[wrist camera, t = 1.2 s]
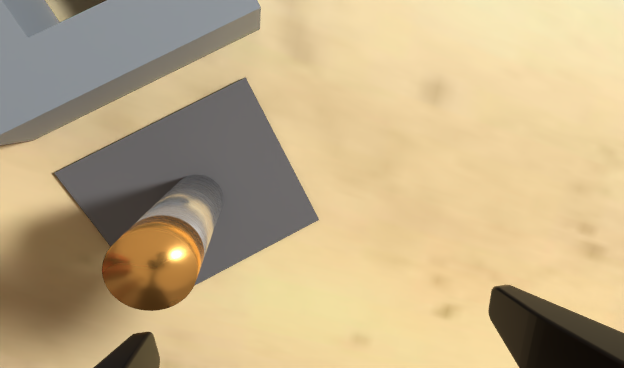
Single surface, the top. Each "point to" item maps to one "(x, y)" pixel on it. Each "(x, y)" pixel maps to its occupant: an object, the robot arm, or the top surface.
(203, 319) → the top surface
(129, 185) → the mat
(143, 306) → the pin
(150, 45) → the hole block
